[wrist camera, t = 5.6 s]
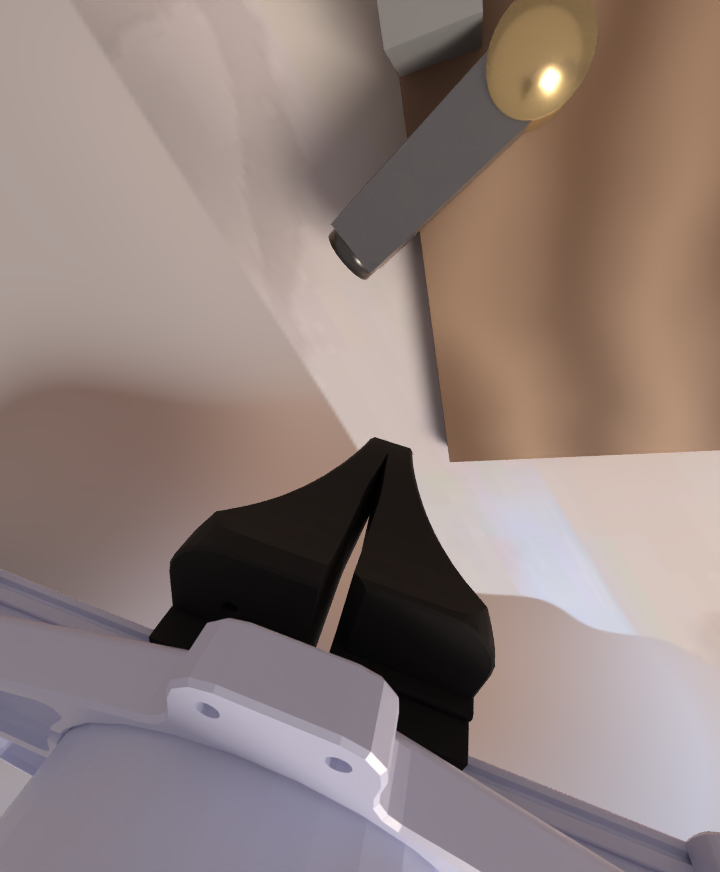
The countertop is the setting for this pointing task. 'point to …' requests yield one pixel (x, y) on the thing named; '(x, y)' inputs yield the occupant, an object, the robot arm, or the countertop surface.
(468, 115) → the gold-capped grey rod
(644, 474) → the countertop surface
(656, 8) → the wooden board
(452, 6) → the block
